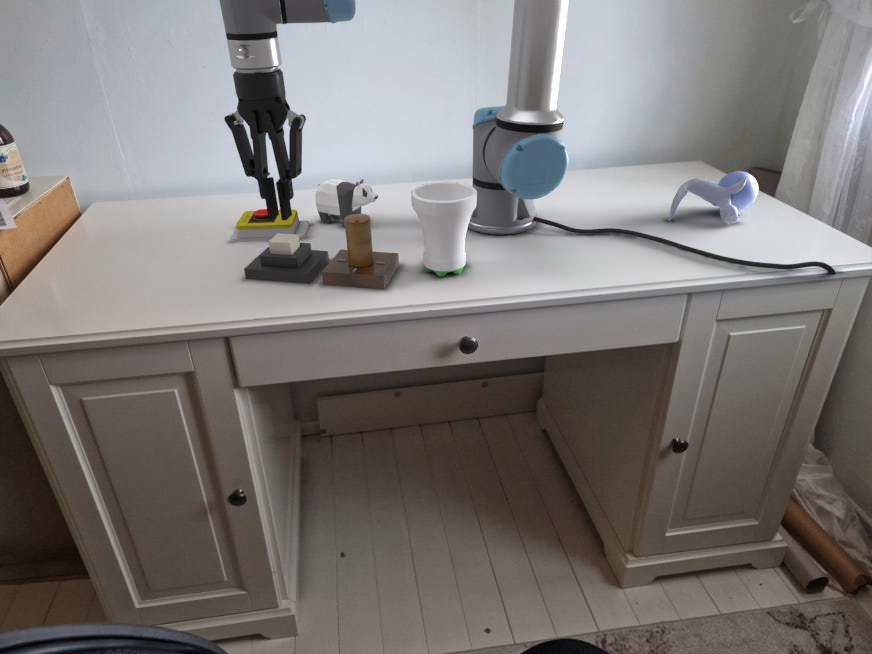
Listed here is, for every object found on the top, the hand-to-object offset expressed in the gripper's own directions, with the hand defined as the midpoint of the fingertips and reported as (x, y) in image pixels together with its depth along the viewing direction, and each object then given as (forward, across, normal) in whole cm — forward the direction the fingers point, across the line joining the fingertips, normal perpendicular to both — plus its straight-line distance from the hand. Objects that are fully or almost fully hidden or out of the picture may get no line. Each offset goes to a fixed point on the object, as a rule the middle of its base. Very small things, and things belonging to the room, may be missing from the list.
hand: (280, 217), depth 109 cm
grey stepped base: (+10, 0, 0) cm, 10 cm away
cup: (+10, +28, +5) cm, 30 cm away
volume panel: (+10, +14, 0) cm, 17 cm away
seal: (+10, +79, +40) cm, 89 cm away
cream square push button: (+6, 0, 0) cm, 6 cm away
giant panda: (+10, +3, +25) cm, 27 cm away
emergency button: (+10, -11, +17) cm, 23 cm away
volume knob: (+7, +14, 0) cm, 16 cm away
